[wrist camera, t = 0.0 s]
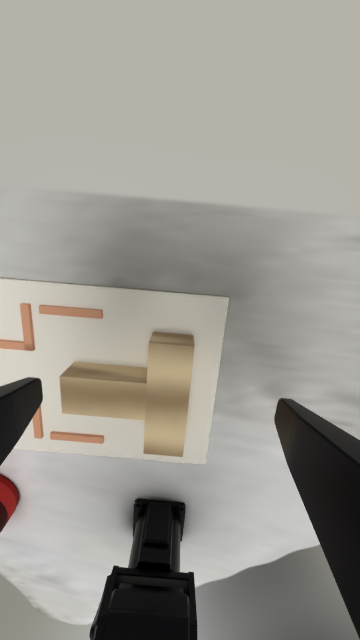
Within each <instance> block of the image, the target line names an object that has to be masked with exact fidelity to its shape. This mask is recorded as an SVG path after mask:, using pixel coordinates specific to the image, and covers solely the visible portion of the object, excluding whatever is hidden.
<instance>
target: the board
mask: <svg viewBox="0 0 360 640" xmlns="http://www.w3.org/2000/svg"><path fill="white" fill-rule="evenodd" d="M228 302H229V297H222V296H210V295H199V294H187V293H175V292H163V291H151V290H139V289H127V288H115V287H103V286H92V285H80V284H68V283H56V282H44V281H32V280H20V279H8V278H0V386H3V385H6V384H9V383H12V382H15V381H18V380H21V379H24V378H27V377H35V378H40V379H41V382H42V392H43V400H42V403H41V405H40V407H39V408H38V410H37V412H36V413H35V415H34V417H33V418H32V420H31V422H30V423H29V425H28V426H27V428H26V430H25V431H24V433H23V435H22V436H21V438H20V439H19V441H18V442H17V444H16V445H15V446H14V448H13V449H23V450H35V451H47V452H59V453H71V454H83V455H95V456H106V457H118V458H130V459H142V460H154V461H166V462H178V463H190V464H202V465H206V459H207V452H208V444H209V437H210V430H211V423H212V416H213V409H214V402H215V395H216V388H217V380H218V373H219V366H220V359H221V352H222V345H223V338H224V331H225V324H226V317H227V309H228ZM153 332H162V333H174V334H186V335H193V336H194V356H193V366H192V375H191V385H190V394H189V404H188V413H187V423H186V432H185V442H184V451H183V457H177V456H165V455H153V454H143V451H144V429H145V420H134V419H122V418H110V417H99V416H87V415H75V414H63V413H62V407H61V392H60V378H59V376H60V375H61V374H62V373H63V372H64V371H65V370H66V369H67V368H68V367H70V366H71V365H72V364H73V363H74V362H84V363H96V364H108V365H120V366H132V367H144V368H147V365H148V344H149V341H150V338H151V336H152V333H153Z"/></svg>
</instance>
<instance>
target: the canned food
mask: <svg viewBox="0 0 360 640" xmlns="http://www.w3.org/2000/svg"><path fill="white" fill-rule="evenodd" d="M18 500H19V494H18V491H17V489H16V487H15V486H14V484H13V483H12V482H11V481H10V480H8V479H7V478H5V477H4V476H2V475H0V532H1V531H2V529H3V528H4V526H5V525H6V523H7V522H8V520H9V519H10V517H11V516H12V514H13V513H14V511H15V509H16V506H17V503H18Z"/></svg>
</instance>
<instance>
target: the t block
mask: <svg viewBox="0 0 360 640" xmlns="http://www.w3.org/2000/svg"><path fill="white" fill-rule="evenodd" d="M193 356H194V336H193V335H186V334H174V333H162V332H153V333H152V336H151V338H150V341H149V344H148V365H147V368H144V367H132V366H120V365H108V364H96V363H84V362H74V363H73V364H72V365H71V366H70V367H68V368H67V369H66V370H65V371H64V372H63V373H62V374H61V375H60V376H59V378H60V392H61V407H62V413H63V414H75V415H87V416H99V417H110V418H122V419H134V420H145V429H144V451H143V454H153V455H165V456H177V457H183V451H184V442H185V432H186V423H187V413H188V404H189V394H190V385H191V375H192V366H193Z"/></svg>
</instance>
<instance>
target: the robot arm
mask: <svg viewBox="0 0 360 640" xmlns="http://www.w3.org/2000/svg"><path fill="white" fill-rule="evenodd" d="M42 400H43V392H42V382H41V379H40V378H35V377H27V378H24V379H21V380H18V381H15V382H12V383H9V384H6V385H3V386H0V465H1V464H2V463H3V461H4V460H5V459H6V457H7V456H8V455H9V453H10V452H11V451H12V449H13V448H14V446H15V445H16V444H17V442H18V441H19V439H20V438H21V436H22V435H23V433H24V431H25V430H26V428H27V426H28V425H29V423H30V422H31V420H32V418H33V417H34V415H35V413H36V412H37V410H38V408H39V407H40V405H41V403H42ZM274 420H275V425H276V429H277V432H278V435H279V439H280V442H281V445H282V449H283V452H284V455H285V458H286V461H287V464H288V467H289V469H290V472H291V474H292V477H293V479H294V482H295V484H296V486H297V489H298V491H299V494H300V496H301V499H302V501H303V503H304V506H305V508H306V511H307V513H308V515H309V518H310V520H311V523H312V525H313V528H314V530H315V532H316V535H317V537H318V540H319V542H320V544H321V547H322V549H323V552H324V554H325V557H326V559H327V561H328V564H329V566H330V569H331V571H332V573H333V576H334V578H335V581H336V583H337V586H338V588H339V590H340V593H341V595H342V598H343V600H344V602H345V605H346V607H347V610H348V612H349V615H350V617H351V619H352V622H353V624H354V627H355V629H356V631H357V634H358V636H359V638H360V440H358V439H357V438H355V437H353V436H352V435H350V434H348V433H347V432H345V431H343V430H342V429H340V428H338V427H337V426H335V425H333V424H332V423H330V422H328V421H327V420H325V419H323V418H322V417H320V416H318V415H317V414H315V413H313V412H312V411H310V410H309V409H307V408H305V407H304V406H302V405H300V404H299V403H297V402H295V401H294V400H292V399H286V398H281V399H279V401H278V404H277V408H276V413H275V418H274ZM185 510H186V508H185V504H184V503H175V502H163V501H151V500H139V499H138V500H136V501H135V504H134V523H133V537H134V538H133V544H132V549H131V555H130V560H129V566H128V568H123V567H119V566H113V570H112V573H111V575H109V576H107V580H106V584H105V588H104V592H103V596H102V599H101V602H100V605H99V608H98V610H97V613H96V616H95V618H94V621H93V624H92V627H91V630H90V640H197V616H196V600H195V585H194V572H189V573H183V572H180V542H181V541H182V535H183V527H184V518H185Z"/></svg>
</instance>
